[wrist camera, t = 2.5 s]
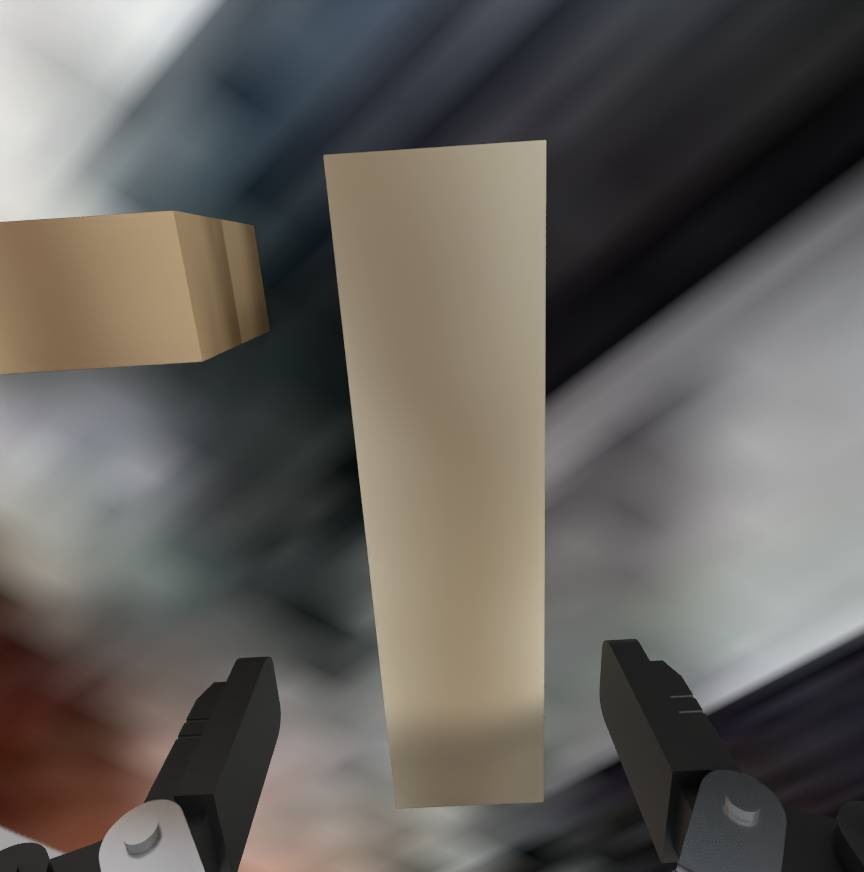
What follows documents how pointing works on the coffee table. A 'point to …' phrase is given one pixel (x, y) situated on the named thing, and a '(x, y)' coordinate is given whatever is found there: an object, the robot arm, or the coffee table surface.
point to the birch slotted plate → (451, 454)
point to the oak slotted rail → (126, 290)
